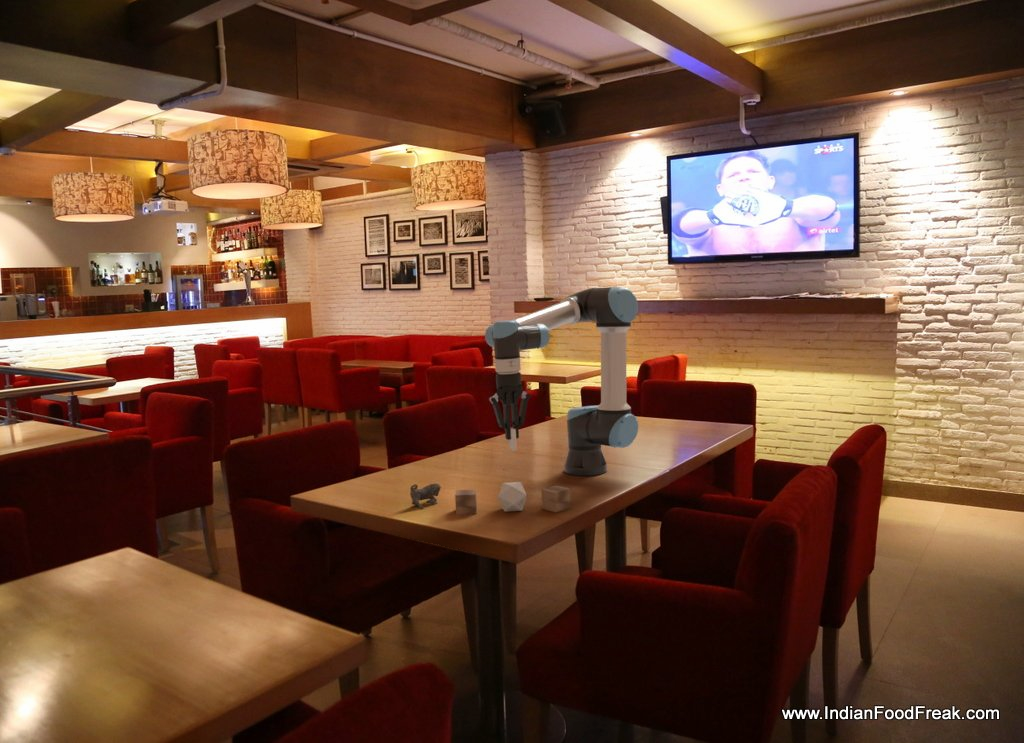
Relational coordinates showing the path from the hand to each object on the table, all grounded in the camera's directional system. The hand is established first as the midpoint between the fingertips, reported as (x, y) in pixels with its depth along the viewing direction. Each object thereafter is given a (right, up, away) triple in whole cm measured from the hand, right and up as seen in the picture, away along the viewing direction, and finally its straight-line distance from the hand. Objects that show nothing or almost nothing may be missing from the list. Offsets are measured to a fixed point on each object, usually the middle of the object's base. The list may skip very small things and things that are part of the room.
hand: (512, 449), depth 238 cm
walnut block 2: (+13, -17, -3) cm, 22 cm away
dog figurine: (-27, -18, +8) cm, 33 cm away
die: (0, -18, -2) cm, 18 cm away
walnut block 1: (-14, -18, -2) cm, 23 cm away
